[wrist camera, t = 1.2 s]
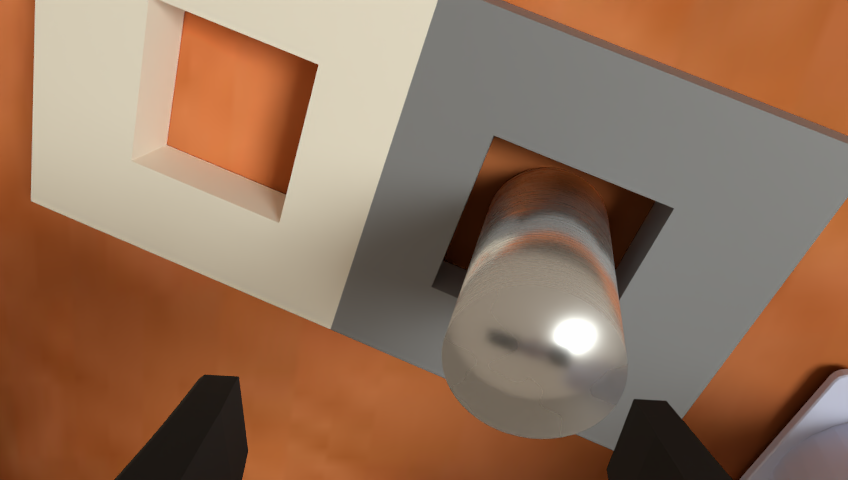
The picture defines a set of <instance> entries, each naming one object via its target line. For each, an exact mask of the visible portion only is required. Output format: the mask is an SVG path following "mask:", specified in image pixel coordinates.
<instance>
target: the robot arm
mask: <svg viewBox="0 0 848 480" xmlns="http://www.w3.org/2000/svg"><path fill="white" fill-rule="evenodd" d="M247 454H248V446H247V438H246V430H245V422H244V415H243V407H242V399H241V391H240V383H239V377H235V376H217V375H204V376H202V377H201V378H200V379H199V380H198V381H197V382H196V383H195V385H194V386H193V387H192V389H191V390H190V391H189V392H188V394H187V395H186V396H185V397H184V399H183V400H182V401H181V403H180V404H179V405H178V406H177V408H176V409H175V410H174V411H173V412H172V414H171V415H170V416H169V417H168V419H167V420H166V421H165V422H164V423H163V425H162V426H161V427H160V428H159V429H158V431H157V432H156V433H155V434H154V435H153V436H152V438H151V439H150V440H149V441H148V442H147V443H146V445H145V446H144V447H143V448H142V449H141V450H140V451H139V453H138V454H137V455H136V456H135V457H134V458H133V459H132V460H131V462H130V463H129V464H128V465H127V466H126V467H125V468H124V469H123V471H122V472H121V473H120V474H119V475H118V476H117V477H116V478H115V480H242V477H243V472H244V468H245V463H246V458H247ZM607 474H608V480H732V479H731V477H730V476H729V475H728V474H727V473H726V472H725V470H724V469H723V468H722V467H721V466H720V464H719V463H718V462H717V461H716V460H715V458H714V457H713V456H712V455H711V454H710V452H709V451H708V450H707V449H706V448H705V447H704V445H703V444H702V443H701V442H700V440H699V439H698V438H697V437H696V436H695V434H694V433H693V432H692V431H691V430H690V428H689V427H688V426H687V425H686V424H685V422H684V421H683V420H682V419H681V418H680V416H679V415H678V414H677V413H676V412H675V410H674V409H673V408H672V407H671V406H670V404H669V403H668V402H667V401H662V400H644V399H634V400H633V402H632V405H631V407H630V410H629V413H628V415H627V418H626V420H625V423H624V426H623V428H622V431H621V433H620V436H619V439H618V441H617V444H616V447H615V449H614V452H613V454H612V457H611V460H610V462H609V465H608V467H607ZM739 480H848V369H841V370H838V371H835V372H834V373H832V374H831V375H830V376H829V377H828V378H827V379H826V380H825V382H824V383H823V384H822V385H821V386H820V387H819V388H818V390H817V391H816V392H815V393H814V394H813V395H812V397H811V398H810V399H809V400H808V401H807V402H806V403H805V405H804V406H803V407H802V408H801V409H800V410H799V411H798V413H797V414H796V415H795V416H794V417H793V418H792V420H791V421H790V422H789V423H788V424H787V425H786V426H785V428H784V429H783V430H782V431H781V432H780V433H779V434H778V436H777V437H776V438H775V439H774V440H773V441H772V443H771V444H770V445H769V446H768V447H767V448H766V449H765V451H764V452H763V453H762V454H761V455H760V456H759V458H758V459H757V460H756V461H755V462H754V463H753V464H752V466H751V467H750V468H749V469H748V470H747V471H746V472H745V474H744V475H743V476H742V477H741V478H740V479H739Z"/></svg>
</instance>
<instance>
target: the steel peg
mask: <svg viewBox="0 0 848 480" xmlns="http://www.w3.org/2000/svg"><path fill="white" fill-rule="evenodd" d="M442 366H443V371H444V375H445V378H446V381H447V383H448V385H449V387H450V389H451V391H452V392H453V394H454V396H455V397H456V398H457V400H458V401H459V402H460V403H461V405H462V406H463V407H465V408H466V409H467V410H468V411H469V412H470V413H471V414H472V415H474V416H475V417H476V418H477V419H479V420H480V421H482V422H484V423H485V424H487V425H489V426H491V427H493V428H495V429H497V430H500V431H502V432H505V433H508V434H511V435H515V436H519V437H525V438H534V439H553V438H560V437H566V436H569V435H573V434H576V433H579V432H582V431H584V430H586V429H588V428H590V427H592V426H594V425H595V424H597V423H598V422H600V421H601V420H602V419H604V418H605V417H606V416H607V415H608V414H609V413H610V412H611V411H612V410H613V408H614V407H615V406H616V405H617V403H618V401H619V400H620V398H621V396H622V394H623V391H624V389H625V386H626V381H627V376H628V363H627V355H626V348H625V341H624V333H623V326H622V318H621V311H620V303H619V296H618V288H617V281H616V273H615V266H614V258H613V251H612V243H611V236H610V228H609V221H608V214H607V210H606V207H605V204H604V202H603V200H602V198H601V196H600V195H599V193H598V192H597V191H596V189H595V188H594V187H593V186H592V185H591V184H590V183H588V182H587V181H586V180H585V179H583V178H581V177H580V176H578V175H576V174H574V173H572V172H569V171H566V170H562V169H557V168H538V169H532V170H529V171H525V172H523V173H520V174H518V175H516V176H514V177H513V178H511V179H510V180H508V181H507V182H506V183H505V184H504V185H503V186H502V187H501V188H500V189H499V190H498V191H497V193H496V194H495V196H494V197H493V199H492V201H491V204H490V206H489V209H488V212H487V215H486V218H485V221H484V224H483V227H482V230H481V233H480V235H479V238H478V241H477V244H476V247H475V250H474V253H473V256H472V259H471V262H470V265H469V268H468V270H467V273H466V276H465V279H464V282H463V285H462V288H461V291H460V294H459V297H458V300H457V303H456V305H455V308H454V311H453V314H452V317H451V320H450V323H449V326H448V329H447V332H446V335H445V337H444V341H443V346H442Z"/></svg>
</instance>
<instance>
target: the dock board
mask: <svg viewBox="0 0 848 480" xmlns="http://www.w3.org/2000/svg"><path fill="white" fill-rule="evenodd" d="M185 11H187V12H190V13H192V14H195V15H197V16H200V17H202V18H205V19H207V20H210V21H212V22H215V23H217V24H219V25H222V26H224V27H227V28H229V29H232V30H234V31H237V32H239V33H242V34H244V35H247V36H249V37H252V38H254V39H257V40H259V41H262V42H264V43H266V44H269V45H271V46H274V47H276V48H279V49H281V50H284V51H286V52H289V53H291V54H294V55H296V56H299V57H301V58H304V59H306V60H308V61H311V62H313V63H316V64H318V69H317V73H316V77H315V81H314V85H313V89H312V93H311V97H310V101H309V105H308V109H307V113H306V117H305V121H304V125H303V129H302V133H301V138H300V142H299V146H298V150H297V154H296V158H295V162H294V166H293V170H292V174H291V178H290V182H289V186H288V190H287V194H286V195H285V194H283V193H281V192H278V191H276V190H273V189H271V188H269V187H266V186H264V185H261V184H259V183H257V182H254V181H252V180H249V179H247V178H245V177H242V176H240V175H237V174H235V173H233V172H230V171H228V170H225V169H223V168H221V167H218V166H216V165H214V164H211V163H209V162H206V161H204V160H202V159H199V158H197V157H194V156H192V155H190V154H187V153H185V152H182V151H180V150H178V149H175V148H173V147H170V146H168V145H167V138H168V130H169V123H170V116H171V108H172V101H173V94H174V86H175V79H176V72H177V64H178V57H179V50H180V42H181V35H182V28H183V20H184V13H185ZM494 136H496V137H499V138H501V139H504V140H506V141H509V142H511V143H514V144H516V145H519V146H521V147H524V148H526V149H529V150H531V151H533V152H536V153H538V154H541V155H543V156H546V157H548V158H551V159H553V160H556V161H558V162H561V163H563V164H566V165H568V166H571V167H573V168H576V169H578V170H580V171H583V172H585V173H588V174H590V175H593V176H595V177H598V178H600V179H603V180H605V181H608V182H610V183H613V184H615V185H618V186H620V187H622V188H625V189H627V190H630V191H632V192H635V193H637V194H640V195H642V196H645V197H647V198H650V199H652V200H655V203H654V205H653V206H652V208H651V210H650V212H649V213H648V215H647V217H646V219H645V220H644V222H643V224H642V225H641V227H640V229H639V231H638V232H637V234H636V236H635V238H634V239H633V241H632V243H631V244H630V246H629V248H628V250H627V251H626V253H625V255H624V257H623V258H622V260H621V262H620V263H619V265H618V267H617V269H616V270H615V273H616V281H617V288H618V296H619V303H620V311H621V318H622V326H623V333H624V341H625V348H626V355H627V363H628V376H627V381H626V386H625V389H624V391H623V394H622V396H621V398H620V400H619V401H618V403H617V405H616V406H615V407H614V408H613V410H612V411H611V412H610V413H609V414H608V415H607V416H606V417H605V418H604V419H602V420H601V421H600V422H598V423H597V424H595V425H594V426H592V427H590V428H588V429H586V430H584V431H582V432H579V433H576V435H578V436H581V437H583V438H585V439H588V440H590V441H592V442H595V443H597V444H599V445H602V446H604V447H606V448H609V449H611V450H613V451H614V449H615V447H616V444H617V441H618V439H619V436H620V433H621V431H622V428H623V426H624V423H625V420H626V418H627V415H628V413H629V410H630V407H631V405H632V402H633V400H634V399H644V400H662V401H667V402H668V403H669V404H670V406H671V407H672V408H673V409H674V410H675V412H676V413H677V414H678V415H679V416H680V418H681V419H682V418H683V417H684V415H685V414H686V413H687V411H688V410H689V409H690V407H691V406H692V405H693V403H694V402H695V401H696V399H697V398H698V397H699V395H700V394H701V393H702V391H703V390H704V389H705V387H706V386H707V385H708V383H709V382H710V381H711V379H712V378H713V377H714V375H715V374H716V373H717V371H718V370H719V369H720V367H721V366H722V365H723V363H724V362H725V361H726V359H727V358H728V357H729V355H730V354H731V353H732V351H733V350H734V349H735V347H736V346H737V345H738V343H739V342H740V341H741V339H742V338H743V337H744V335H745V334H746V332H747V331H748V330H749V328H750V327H751V326H752V324H753V323H754V322H755V320H756V319H757V318H758V316H759V315H760V314H761V312H762V311H763V310H764V308H765V307H766V306H767V304H768V303H769V302H770V300H771V299H772V298H773V296H774V295H775V294H776V292H777V291H778V290H779V288H780V287H781V286H782V284H783V283H784V282H785V280H786V279H787V278H788V276H789V275H790V274H791V272H792V271H793V270H794V268H795V267H796V266H797V264H798V263H799V262H800V260H801V259H802V258H803V256H804V255H805V254H806V252H807V251H808V250H809V248H810V247H811V246H812V244H813V243H814V242H815V240H816V239H817V237H818V236H819V235H820V233H821V232H822V231H823V229H824V228H825V227H826V225H827V224H828V223H829V221H830V220H831V219H832V217H833V216H834V215H835V213H836V212H837V211H838V209H839V208H840V207H841V205H842V204H843V203H844V201H845V200H846V199H847V197H848V136H847V135H844V134H841V133H839V132H836V131H834V130H831V129H829V128H826V127H824V126H821V125H818V124H816V123H813V122H811V121H808V120H806V119H803V118H801V117H798V116H796V115H793V114H790V113H788V112H785V111H783V110H780V109H778V108H775V107H773V106H770V105H767V104H765V103H762V102H760V101H757V100H755V99H752V98H750V97H747V96H745V95H742V94H739V93H737V92H734V91H732V90H729V89H727V88H724V87H722V86H719V85H716V84H714V83H711V82H709V81H706V80H704V79H701V78H699V77H696V76H693V75H691V74H688V73H686V72H683V71H681V70H678V69H676V68H673V67H671V66H668V65H665V64H663V63H660V62H658V61H655V60H653V59H650V58H648V57H645V56H642V55H640V54H637V53H635V52H632V51H630V50H627V49H625V48H622V47H620V46H617V45H614V44H612V43H609V42H607V41H604V40H602V39H599V38H597V37H594V36H591V35H589V34H586V33H584V32H581V31H579V30H576V29H574V28H571V27H569V26H566V25H563V24H561V23H558V22H556V21H553V20H551V19H548V18H546V17H543V16H540V15H538V14H535V13H533V12H530V11H528V10H525V9H523V8H520V7H517V6H515V5H512V4H510V3H507V2H505V1H502V0H35V36H34V81H33V126H32V171H31V201H32V202H34V203H37V204H39V205H41V206H44V207H46V208H48V209H51V210H53V211H55V212H58V213H60V214H62V215H65V216H67V217H69V218H72V219H74V220H76V221H79V222H81V223H83V224H86V225H88V226H90V227H93V228H95V229H97V230H100V231H102V232H104V233H107V234H109V235H111V236H114V237H116V238H118V239H121V240H123V241H125V242H128V243H130V244H132V245H135V246H137V247H139V248H142V249H144V250H146V251H149V252H151V253H153V254H156V255H158V256H160V257H163V258H165V259H167V260H170V261H172V262H174V263H177V264H179V265H181V266H184V267H186V268H188V269H191V270H193V271H195V272H198V273H200V274H202V275H205V276H207V277H209V278H212V279H214V280H216V281H219V282H221V283H223V284H226V285H228V286H230V287H233V288H235V289H237V290H240V291H242V292H244V293H247V294H249V295H251V296H254V297H256V298H258V299H261V300H263V301H265V302H268V303H270V304H272V305H275V306H277V307H279V308H282V309H284V310H286V311H289V312H291V313H293V314H296V315H298V316H300V317H303V318H305V319H307V320H310V321H312V322H314V323H317V324H319V325H322V326H324V327H326V328H329V329H331V330H333V331H336V332H338V333H340V334H343V335H345V336H347V337H350V338H352V339H354V340H357V341H359V342H361V343H364V344H366V345H368V346H371V347H373V348H375V349H378V350H380V351H382V352H385V353H387V354H389V355H392V356H394V357H396V358H399V359H401V360H403V361H406V362H408V363H410V364H413V365H415V366H417V367H420V368H422V369H424V370H427V371H429V372H431V373H434V374H436V375H438V376H441V377H443V378H445V375H444V371H443V366H442V346H443V341H444V337H445V335H446V332H447V329H448V326H449V323H450V320H451V317H452V314H453V311H454V308H455V305H456V303H457V300H458V297H459V294H460V291H461V288H462V285H463V282H464V279H465V276H466V273H467V270H465V269H463V268H460V267H458V266H455V265H453V264H451V263H448V262H446V261H443V259H444V257H445V254H446V252H447V249H448V247H449V244H450V242H451V240H452V237H453V235H454V232H455V230H456V227H457V225H458V223H459V220H460V218H461V215H462V213H463V210H464V208H465V206H466V203H467V201H468V198H469V196H470V193H471V191H472V189H473V186H474V184H475V181H476V179H477V176H478V174H479V172H480V169H481V167H482V164H483V162H484V159H485V157H486V154H487V152H488V150H489V147H490V145H491V142H492V140H493V137H494ZM445 379H446V378H445Z"/></svg>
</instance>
